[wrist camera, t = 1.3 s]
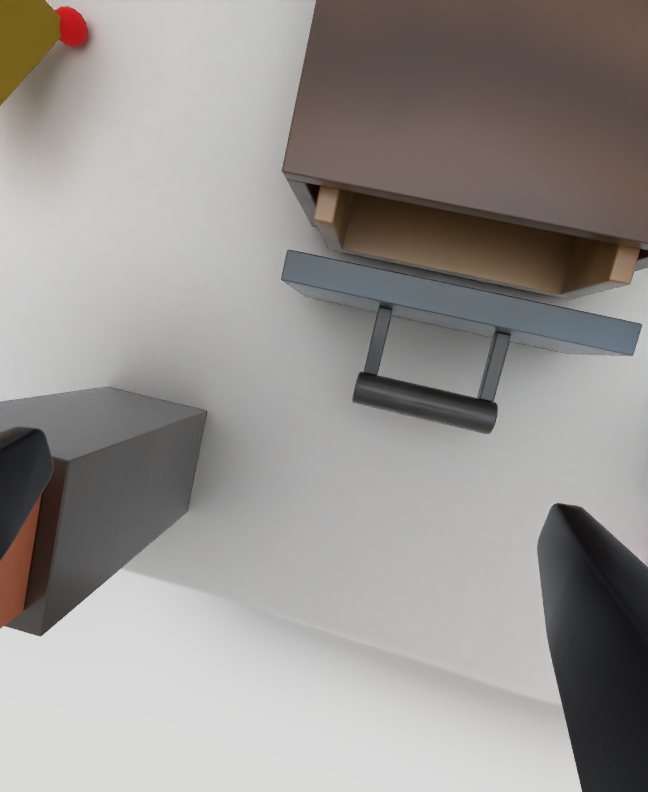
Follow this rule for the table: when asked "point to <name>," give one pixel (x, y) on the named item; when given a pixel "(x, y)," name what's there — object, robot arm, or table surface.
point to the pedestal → (101, 489)
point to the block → (17, 569)
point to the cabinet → (481, 111)
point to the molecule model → (32, 37)
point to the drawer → (460, 291)
